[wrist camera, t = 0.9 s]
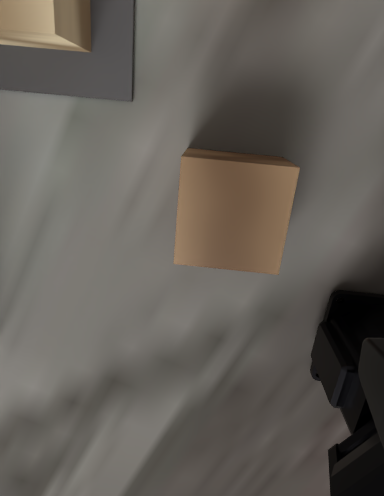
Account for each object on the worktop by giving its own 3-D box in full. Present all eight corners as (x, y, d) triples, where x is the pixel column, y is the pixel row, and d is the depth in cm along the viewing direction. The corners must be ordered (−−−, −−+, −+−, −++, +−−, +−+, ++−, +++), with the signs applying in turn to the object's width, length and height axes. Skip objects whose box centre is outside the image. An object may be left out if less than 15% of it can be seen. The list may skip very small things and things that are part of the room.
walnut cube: (281, 156, 18) (299, 167, 14) (266, 244, 20) (278, 274, 16) (188, 147, 18) (181, 156, 14) (181, 235, 20) (173, 263, 16)
